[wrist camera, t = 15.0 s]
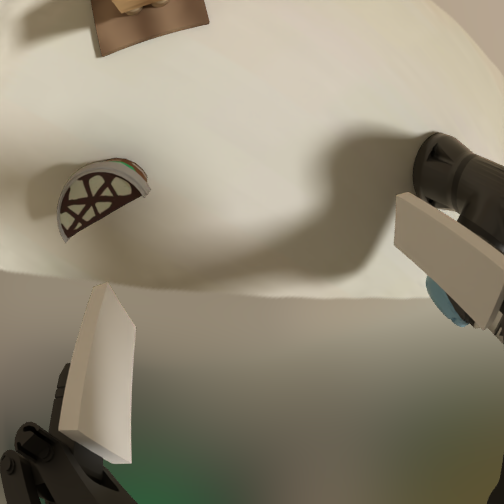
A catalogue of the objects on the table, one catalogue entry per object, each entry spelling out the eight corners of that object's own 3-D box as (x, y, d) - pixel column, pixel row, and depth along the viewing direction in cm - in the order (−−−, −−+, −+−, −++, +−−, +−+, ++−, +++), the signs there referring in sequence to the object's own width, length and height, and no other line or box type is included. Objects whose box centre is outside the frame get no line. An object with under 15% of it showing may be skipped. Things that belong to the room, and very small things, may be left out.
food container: (137, 132, 33) (122, 143, 24) (157, 171, 36) (149, 195, 27) (65, 177, 32) (35, 202, 24) (85, 212, 36) (62, 245, 27)
